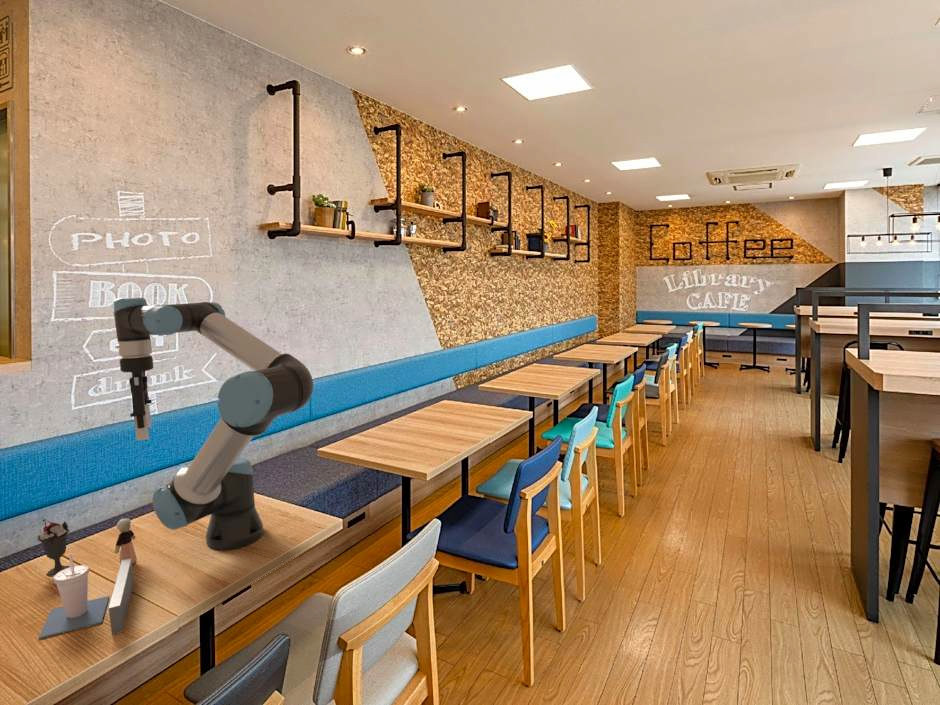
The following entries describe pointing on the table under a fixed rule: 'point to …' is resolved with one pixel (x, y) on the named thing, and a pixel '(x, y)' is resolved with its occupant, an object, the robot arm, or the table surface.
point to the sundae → (54, 543)
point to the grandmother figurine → (125, 541)
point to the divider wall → (121, 596)
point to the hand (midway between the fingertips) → (144, 433)
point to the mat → (62, 623)
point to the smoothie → (73, 588)
